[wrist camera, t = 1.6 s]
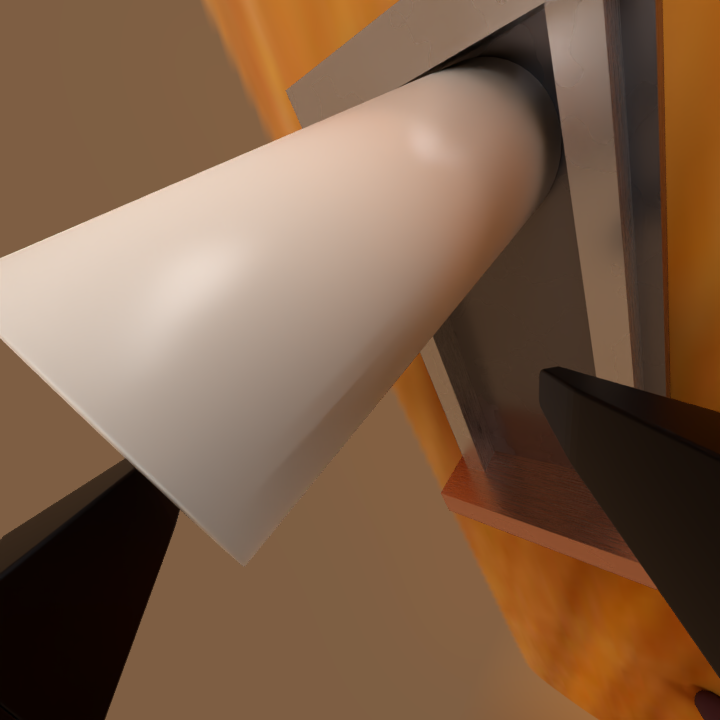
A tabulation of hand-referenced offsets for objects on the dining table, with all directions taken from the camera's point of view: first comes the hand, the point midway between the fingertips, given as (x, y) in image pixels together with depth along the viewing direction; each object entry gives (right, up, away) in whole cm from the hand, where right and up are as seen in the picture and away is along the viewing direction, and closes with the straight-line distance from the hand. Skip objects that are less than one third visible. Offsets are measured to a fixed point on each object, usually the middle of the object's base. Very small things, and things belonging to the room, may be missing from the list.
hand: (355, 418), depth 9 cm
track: (+7, +4, +6) cm, 10 cm away
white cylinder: (+4, +8, +2) cm, 9 cm away
